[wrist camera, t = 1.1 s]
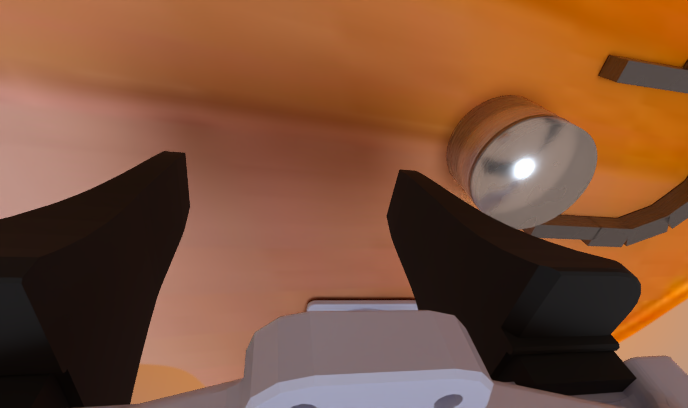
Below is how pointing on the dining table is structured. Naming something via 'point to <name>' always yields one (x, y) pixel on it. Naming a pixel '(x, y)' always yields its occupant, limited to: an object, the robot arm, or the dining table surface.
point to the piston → (520, 161)
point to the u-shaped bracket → (648, 220)
